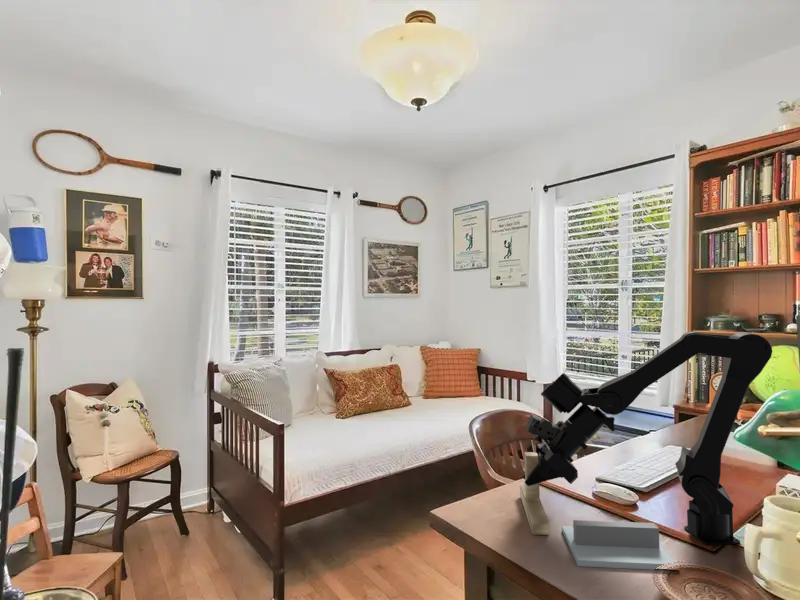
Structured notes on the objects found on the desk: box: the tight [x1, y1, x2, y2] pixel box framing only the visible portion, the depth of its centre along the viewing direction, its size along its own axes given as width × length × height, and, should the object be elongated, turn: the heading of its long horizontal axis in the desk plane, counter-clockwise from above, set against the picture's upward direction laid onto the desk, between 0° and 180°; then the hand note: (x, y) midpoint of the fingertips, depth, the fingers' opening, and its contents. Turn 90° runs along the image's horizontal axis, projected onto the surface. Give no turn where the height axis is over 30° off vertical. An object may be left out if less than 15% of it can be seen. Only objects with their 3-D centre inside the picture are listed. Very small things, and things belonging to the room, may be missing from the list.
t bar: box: [519, 451, 550, 536], centre depth 97 cm, size 3×18×12 cm, turn 173°
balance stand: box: [561, 519, 677, 571], centre depth 82 cm, size 16×12×4 cm
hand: (525, 481), depth 97 cm, fingers closed on t bar, 2 cm apart
